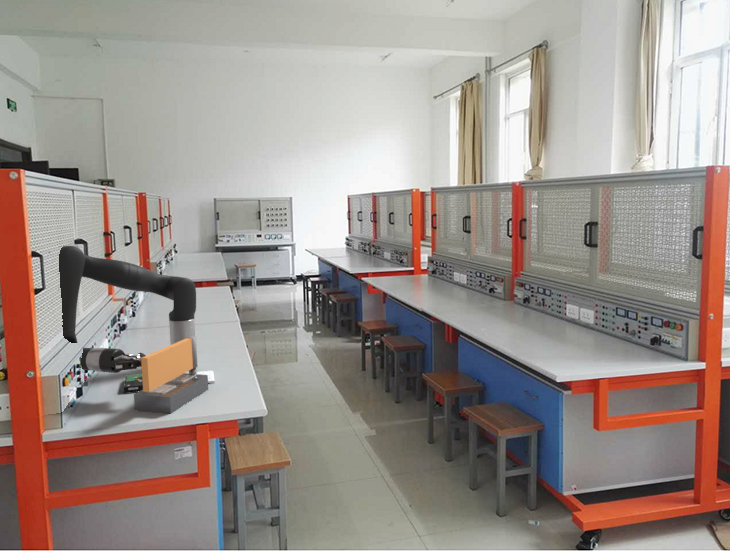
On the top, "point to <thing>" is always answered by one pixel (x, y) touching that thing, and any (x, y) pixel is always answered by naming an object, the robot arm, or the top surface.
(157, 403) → the grey flat block
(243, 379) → the top surface
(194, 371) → the boom post
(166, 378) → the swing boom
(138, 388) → the disk drive
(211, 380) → the external hard drive
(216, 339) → the top surface
